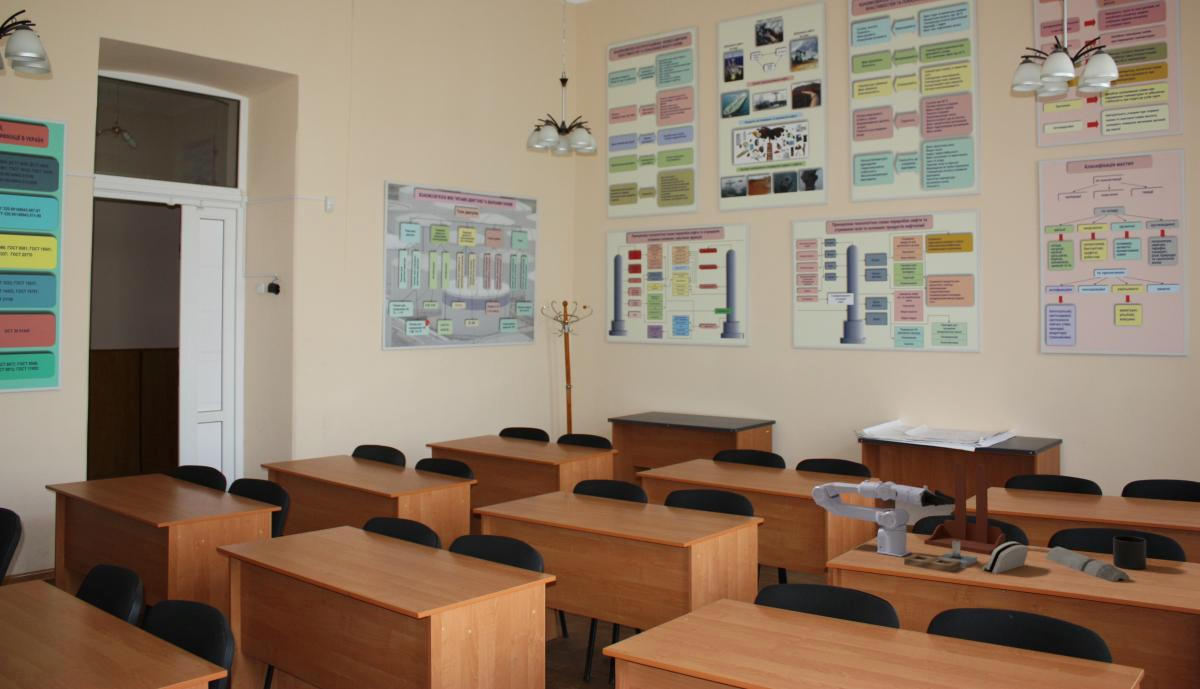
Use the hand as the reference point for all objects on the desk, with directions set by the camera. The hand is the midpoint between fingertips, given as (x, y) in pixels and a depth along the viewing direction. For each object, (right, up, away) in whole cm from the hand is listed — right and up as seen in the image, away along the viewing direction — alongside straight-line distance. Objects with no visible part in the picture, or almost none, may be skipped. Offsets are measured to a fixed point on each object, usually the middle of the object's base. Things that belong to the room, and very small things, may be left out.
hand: (949, 501), depth 318 cm
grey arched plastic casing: (+16, -21, -9) cm, 28 cm away
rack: (-7, -21, -3) cm, 22 cm away
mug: (+56, -20, -8) cm, 60 cm away
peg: (+3, -21, +1) cm, 21 cm away
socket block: (+3, -21, +1) cm, 21 cm away
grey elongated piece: (+41, -21, -11) cm, 47 cm away
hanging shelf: (+14, -20, +22) cm, 33 cm away
